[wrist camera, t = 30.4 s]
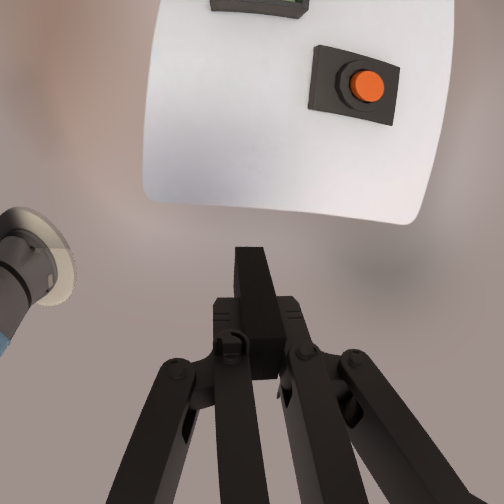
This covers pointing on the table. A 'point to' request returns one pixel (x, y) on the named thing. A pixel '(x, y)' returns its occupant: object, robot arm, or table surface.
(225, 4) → the tray
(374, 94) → the button
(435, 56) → the table surface
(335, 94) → the button box
